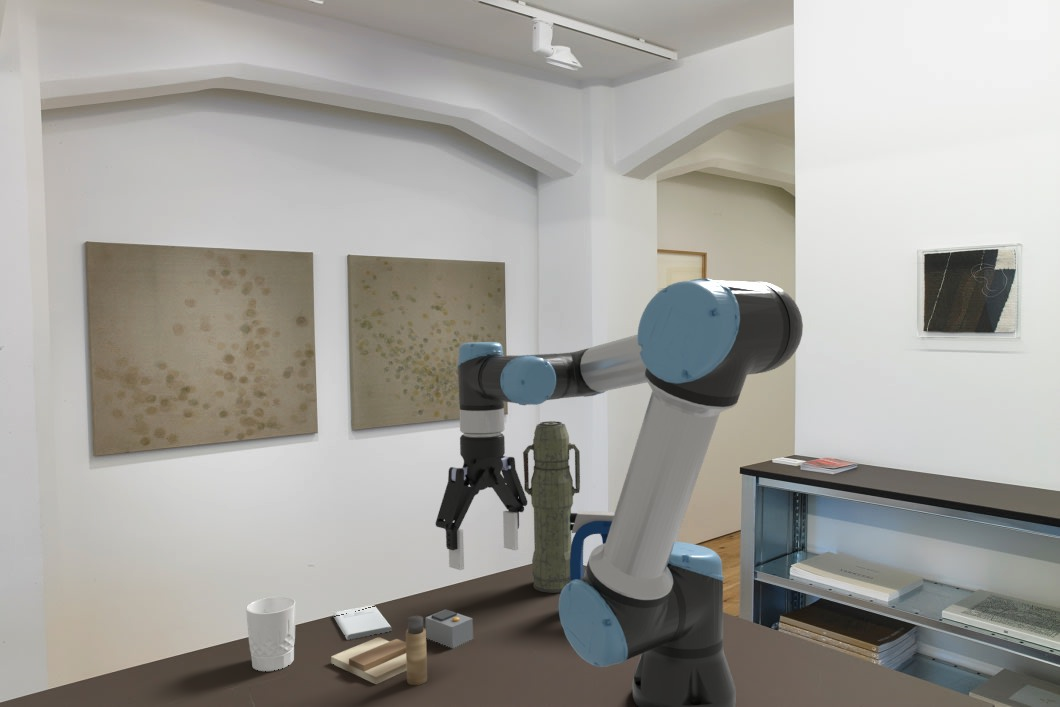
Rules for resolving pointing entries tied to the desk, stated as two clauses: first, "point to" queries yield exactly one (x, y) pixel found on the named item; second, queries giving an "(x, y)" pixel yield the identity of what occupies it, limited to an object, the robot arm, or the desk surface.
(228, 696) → the desk surface
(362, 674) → the panel
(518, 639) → the desk surface
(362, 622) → the external hard drive
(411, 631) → the peg
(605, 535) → the handheld scanner
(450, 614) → the box
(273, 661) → the white cup
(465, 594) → the desk surface
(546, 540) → the thermos
